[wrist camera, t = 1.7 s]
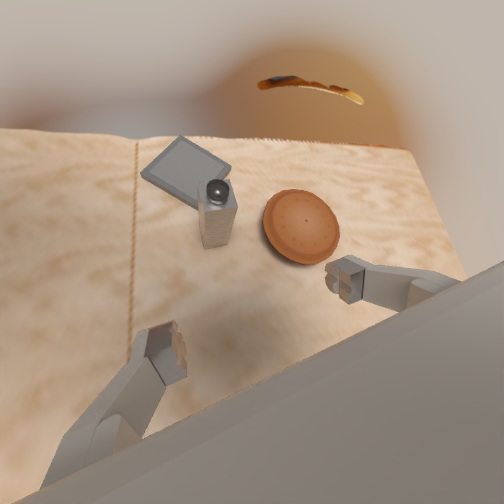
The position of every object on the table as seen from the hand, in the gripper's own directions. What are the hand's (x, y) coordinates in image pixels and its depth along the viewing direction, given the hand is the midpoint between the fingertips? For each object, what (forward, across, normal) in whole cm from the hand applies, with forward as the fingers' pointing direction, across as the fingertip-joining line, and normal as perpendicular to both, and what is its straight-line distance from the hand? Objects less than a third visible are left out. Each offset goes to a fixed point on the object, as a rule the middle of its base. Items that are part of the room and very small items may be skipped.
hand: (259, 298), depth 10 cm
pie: (+26, -17, +8) cm, 32 cm away
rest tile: (+35, 0, -6) cm, 36 cm away
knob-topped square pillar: (+26, -1, +5) cm, 27 cm away
